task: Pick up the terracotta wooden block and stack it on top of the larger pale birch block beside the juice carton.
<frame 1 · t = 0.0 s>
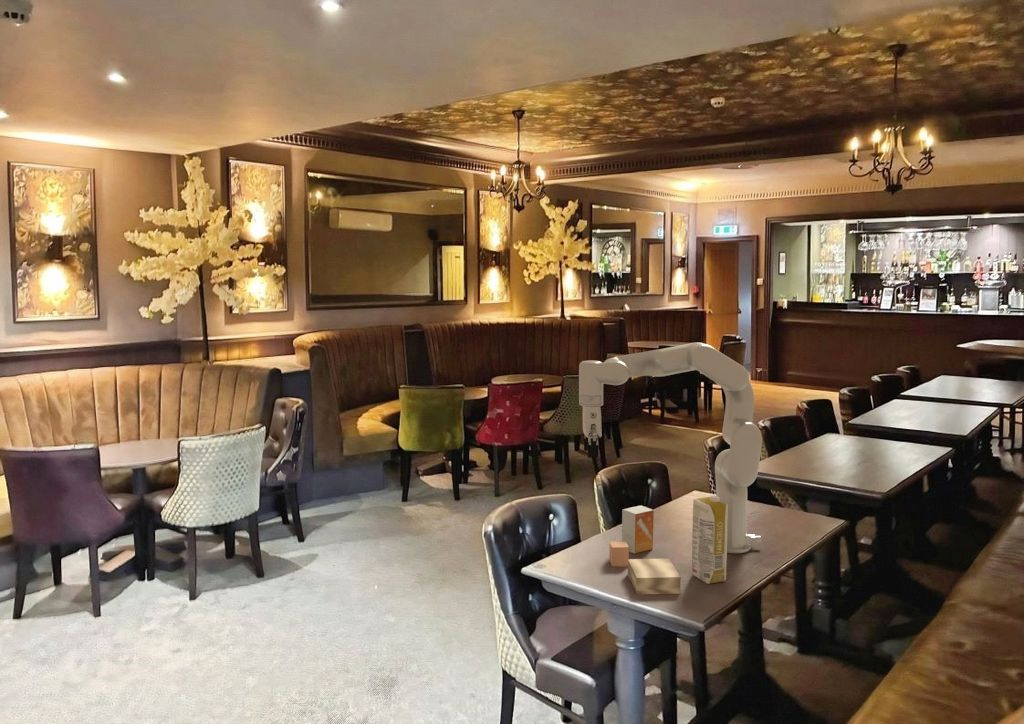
hand: (590, 453, 239), 31 cm above the table, tool pointing down, fingers open, 9 cm apart
terracotta block: (618, 563, 231), on the table
juice carton: (708, 578, 218), on the table
small box: (637, 549, 243), on the table
birch block: (653, 584, 215), on the table
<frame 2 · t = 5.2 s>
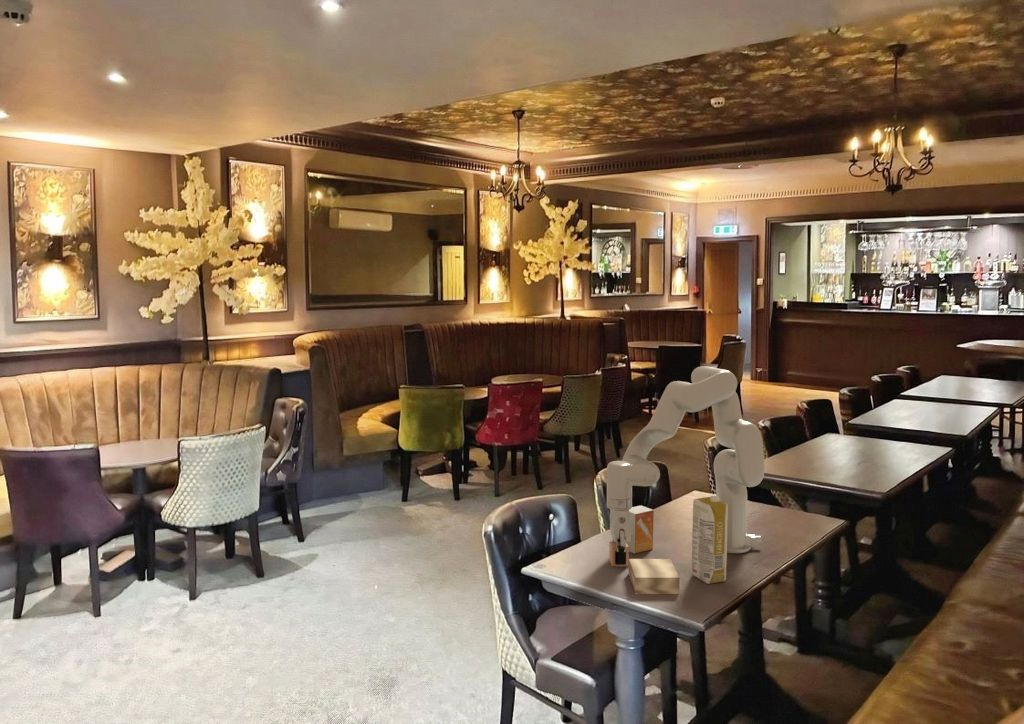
hand: (618, 560, 230), 1 cm above the table, tool pointing down, fingers closed on terracotta block, 5 cm apart
terracotta block: (618, 563, 231), on the table, touching gripper
everything else where it was.
when the fingers open (7 cm above the table, at t = 13.1 s): terracotta block drops 1 cm, resting on birch block.
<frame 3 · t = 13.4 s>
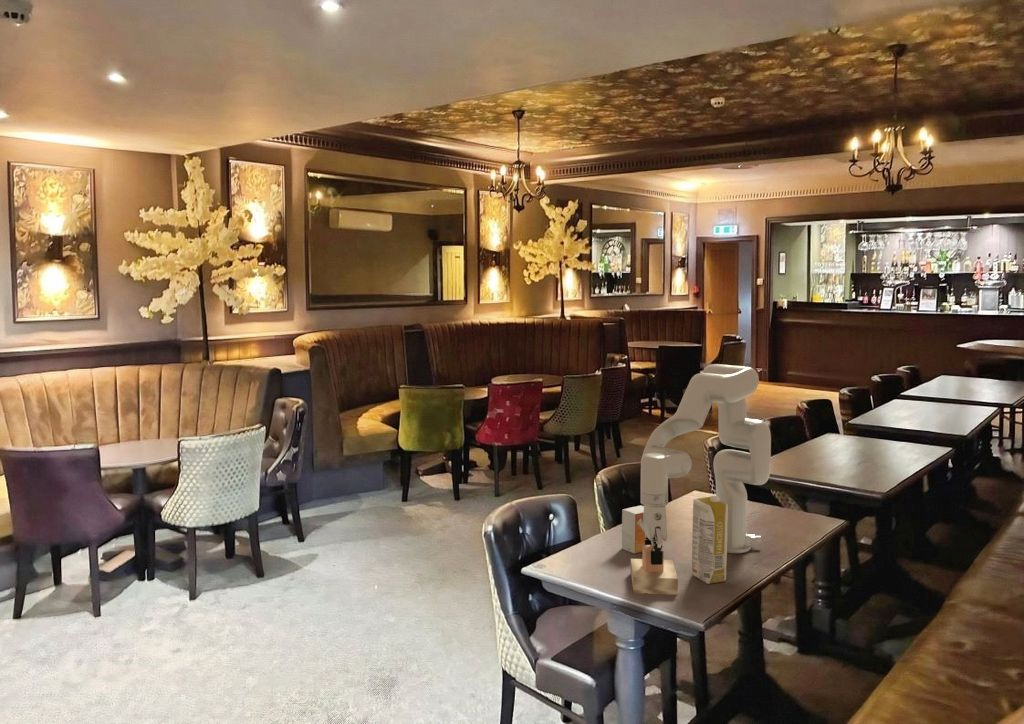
hand: (653, 558, 214), 7 cm above the table, tool pointing down, fingers open, 7 cm apart
terracotta block: (652, 568, 214), point 4 cm above the table, touching birch block
birch block: (653, 585, 215), on the table, touching terracotta block
everything else where it was.
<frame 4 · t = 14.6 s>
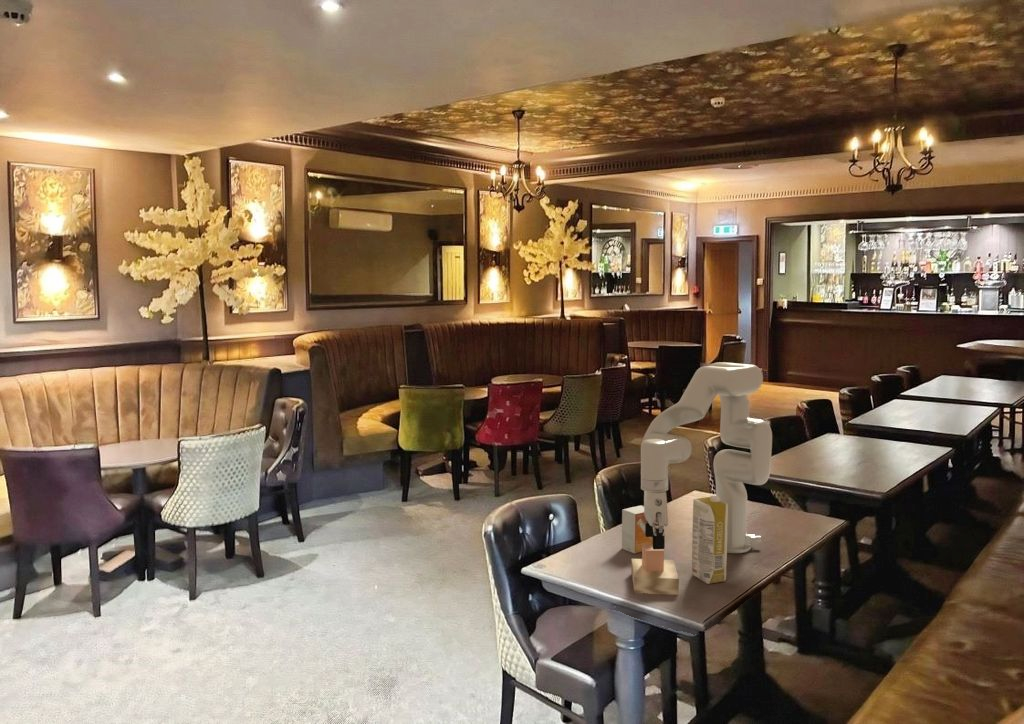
hand: (654, 542, 214), 12 cm above the table, tool pointing down, fingers open, 9 cm apart
nothing on the table moved.
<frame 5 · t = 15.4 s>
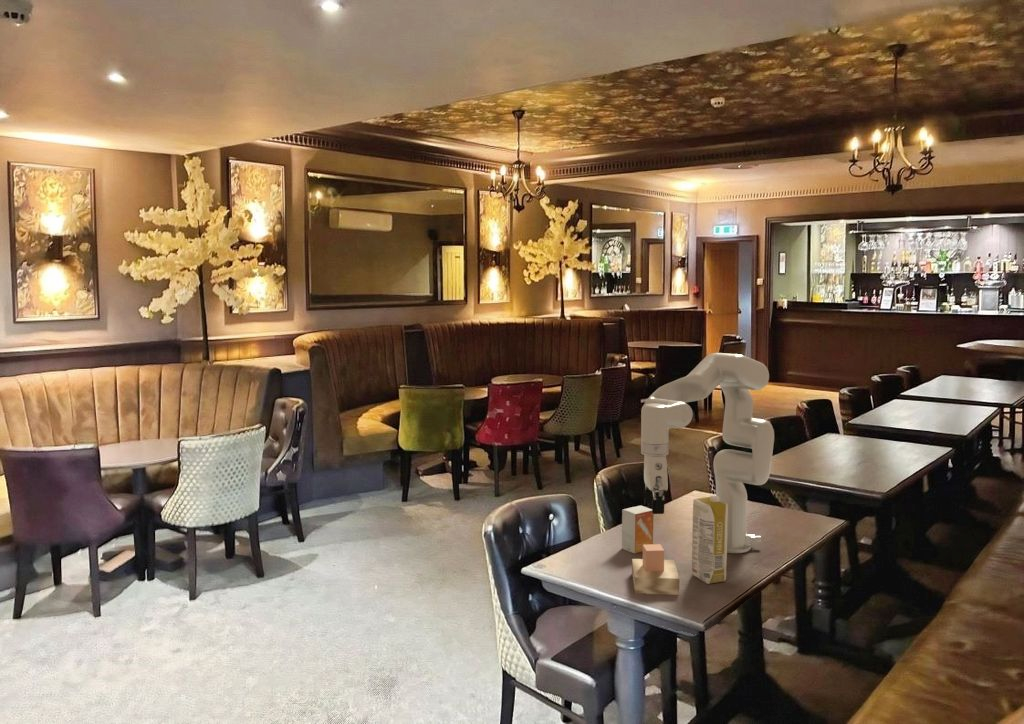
hand: (654, 508, 213), 22 cm above the table, tool pointing down, fingers open, 9 cm apart
nothing on the table moved.
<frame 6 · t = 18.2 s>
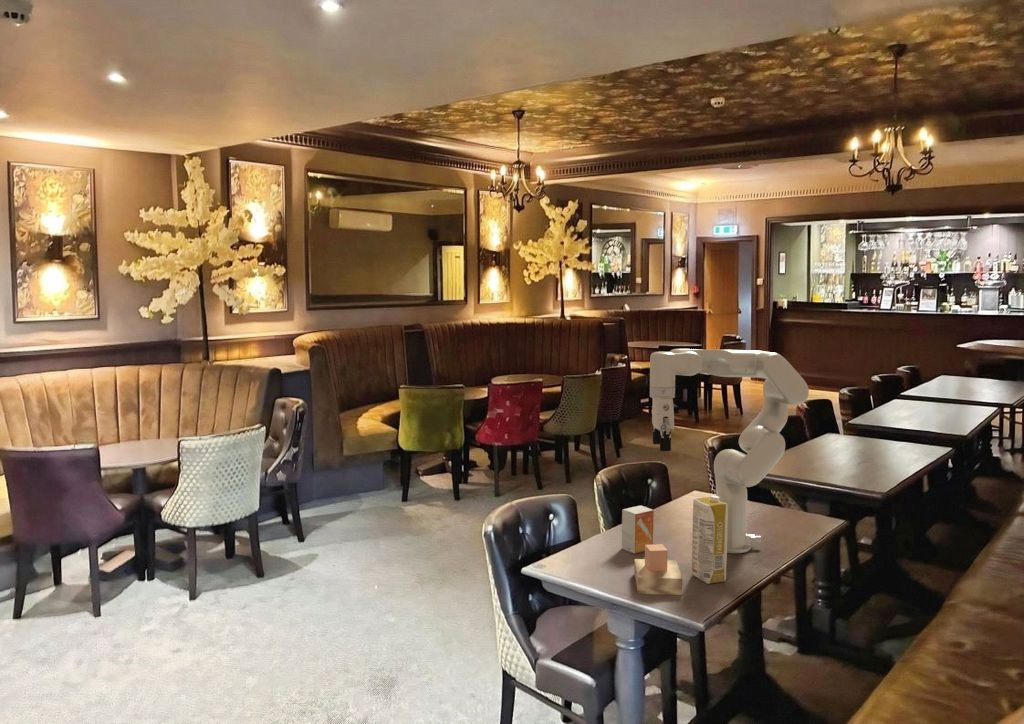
hand: (661, 447, 233), 34 cm above the table, tool pointing down, fingers open, 9 cm apart
at the end: terracotta block 0.6 cm off-centre on the birch block, point 5.0 cm above the birch block's base; terracotta block tilted 0°; the gripper is holding nothing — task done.
